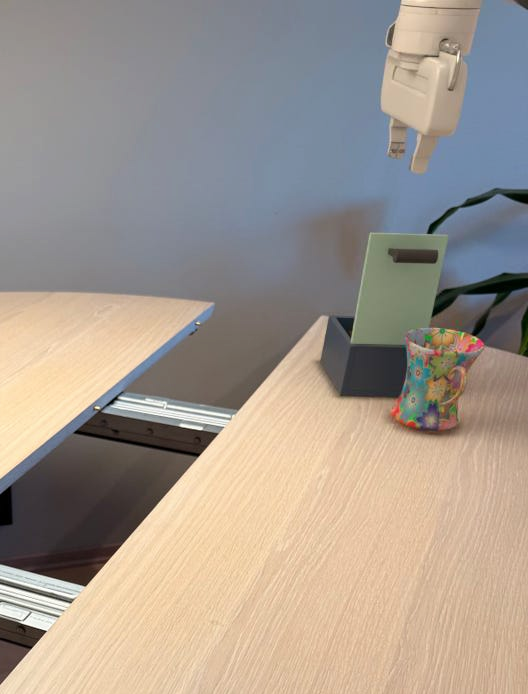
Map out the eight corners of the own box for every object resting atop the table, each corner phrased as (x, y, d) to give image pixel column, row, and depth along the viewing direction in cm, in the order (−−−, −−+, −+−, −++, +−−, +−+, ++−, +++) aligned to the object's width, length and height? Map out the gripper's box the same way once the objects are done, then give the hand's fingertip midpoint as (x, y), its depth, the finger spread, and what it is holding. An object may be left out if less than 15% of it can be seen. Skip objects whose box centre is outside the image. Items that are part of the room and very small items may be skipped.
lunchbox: (319, 362, 142) (328, 315, 138) (385, 363, 142) (396, 317, 138) (340, 395, 132) (350, 346, 128) (411, 397, 132) (423, 348, 128)
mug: (374, 407, 129) (393, 327, 123) (442, 407, 130) (464, 327, 124) (410, 447, 119) (432, 362, 113) (483, 446, 120) (509, 361, 114)
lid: (369, 232, 121) (381, 238, 117) (446, 234, 122) (461, 240, 117) (350, 342, 128) (360, 351, 124) (423, 344, 128) (436, 353, 124)
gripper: (492, 45, 106) (458, 183, 115) (433, 29, 123) (407, 150, 131) (434, 43, 106) (404, 181, 115) (383, 28, 123) (360, 149, 131)
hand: (405, 165), depth 123 cm, fingers open, 8 cm apart
